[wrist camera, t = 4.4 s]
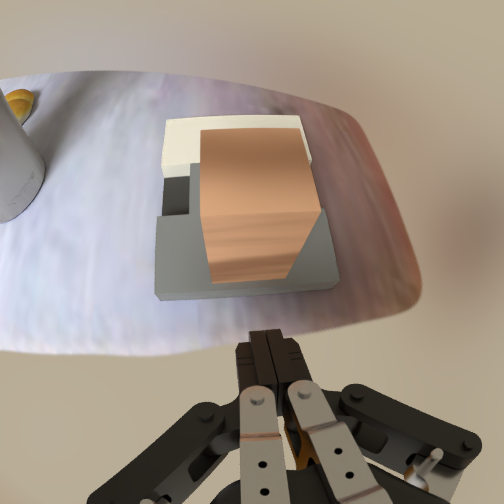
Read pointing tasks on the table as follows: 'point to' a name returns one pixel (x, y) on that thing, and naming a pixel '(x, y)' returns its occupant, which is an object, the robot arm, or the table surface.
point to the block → (255, 201)
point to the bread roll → (20, 103)
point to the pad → (188, 129)
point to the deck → (196, 262)
